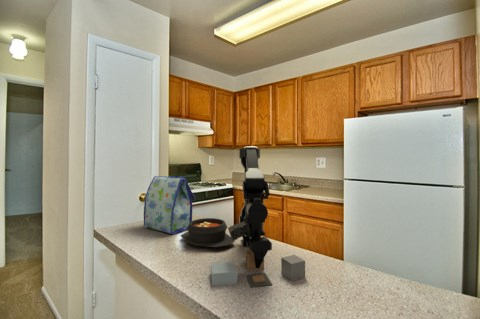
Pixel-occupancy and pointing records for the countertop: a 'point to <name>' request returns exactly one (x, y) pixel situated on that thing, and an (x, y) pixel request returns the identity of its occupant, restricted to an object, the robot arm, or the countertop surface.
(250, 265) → the walnut cube
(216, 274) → the base block
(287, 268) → the grey cube
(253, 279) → the mat
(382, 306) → the countertop surface
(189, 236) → the casserole
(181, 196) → the lunch bag
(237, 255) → the countertop surface
